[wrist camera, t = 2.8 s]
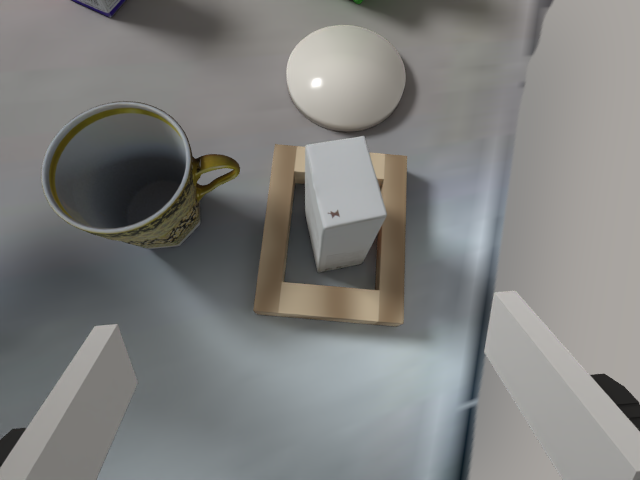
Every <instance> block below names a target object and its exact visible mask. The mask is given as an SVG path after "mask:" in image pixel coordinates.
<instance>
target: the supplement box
mask: <svg viewBox="0 0 640 480" xmlns="http://www.w3.org/2000/svg"><path fill="white" fill-rule="evenodd" d="M72 1H74V2H76V3H79V4H81V5H83V6H85V7H87V8H90V9H92V10H94V11H96V12H99V13H101V14H103V15H105V16H107V17H110V18H111V17H112V16H113V15H114V14H115V13H116V12H117V10H118V9H119V8H120V7H121V6H122V4H123V3H124V2H125V1H126V0H72Z"/></svg>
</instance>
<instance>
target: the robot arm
mask: <svg viewBox="0 0 640 480" xmlns="http://www.w3.org/2000/svg"><path fill="white" fill-rule="evenodd" d="M484 353H485V354H486V356H487V358H488V359H489V361H490V362H491V364H492V366H493V367H494V369H495V370H496V372H497V374H498V376H499V377H500V379H501V380H502V382H503V384H504V385H505V387H506V389H507V390H508V392H509V393H510V395H511V397H512V398H513V400H514V402H515V403H516V405H517V407H518V408H519V410H520V411H521V413H522V415H523V416H524V418H525V419H526V421H527V423H528V425H529V426H530V428H531V429H532V431H533V433H534V434H535V436H536V437H537V439H538V441H539V442H540V444H541V446H542V447H543V449H544V450H545V452H546V454H547V455H548V457H549V459H550V460H551V462H552V464H553V465H554V467H555V469H556V470H557V472H558V473H559V475H560V477H561V478H562V480H640V405H639V402H638V401H637V400H636V399H635V398H634V396H632V394H631V393H630V392H629V391H628V390H627V389H626V388H625V387H624V386H622V385H621V384H619V383H618V382H616V381H615V380H613V379H612V378H610V377H609V376H607V375H605V374H595V375H589V374H588V372H587V371H586V370H585V369H584V368H583V367H582V366H581V364H580V363H579V362H578V361H577V360H576V359H575V358H574V356H573V355H572V354H571V353H570V352H569V351H568V350H567V349H566V348H565V346H564V345H563V344H562V343H561V342H560V341H559V339H558V338H557V337H556V336H555V335H554V334H553V333H552V332H551V330H550V329H549V328H548V327H547V326H546V325H545V324H544V323H543V321H542V320H541V319H540V318H539V317H538V316H537V315H536V314H535V312H534V311H533V310H532V309H531V308H530V307H529V305H528V304H527V303H526V302H525V301H524V300H523V299H522V298H521V296H520V295H519V294H518V293H517V292H516V291H505V292H494V296H493V302H492V308H491V314H490V320H489V326H488V332H487V338H486V344H485V350H484ZM137 384H138V381H137V378H136V375H135V372H134V370H133V367H132V364H131V361H130V358H129V355H128V352H127V350H126V347H125V344H124V341H123V338H122V335H121V332H120V329H119V327H118V324H111V325H99V326H94V328H93V329H92V331H91V332H90V334H89V335H88V337H87V338H86V340H85V341H84V343H83V344H82V346H81V347H80V349H79V350H78V352H77V353H76V355H75V356H74V358H73V359H72V361H71V362H70V364H69V365H68V367H67V368H66V370H65V371H64V373H63V374H62V376H61V377H60V379H59V380H58V382H57V383H56V385H55V386H54V388H53V389H52V391H51V392H50V394H49V395H48V397H47V398H46V400H45V401H44V403H43V404H42V406H41V407H40V409H39V410H38V412H37V413H36V415H35V416H34V418H33V419H32V421H31V422H30V424H29V425H28V427H27V428H20V429H12V430H11V431H10V432H9V433H8V434H6V435H5V436H4V437H3V438H2V439H1V440H0V480H96V479H97V477H98V474H99V472H100V470H101V467H102V465H103V463H104V461H105V458H106V456H107V454H108V451H109V449H110V447H111V444H112V442H113V440H114V437H115V435H116V433H117V431H118V428H119V426H120V424H121V421H122V419H123V417H124V414H125V412H126V410H127V407H128V405H129V403H130V401H131V398H132V396H133V394H134V391H135V389H136V387H137Z"/></svg>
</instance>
